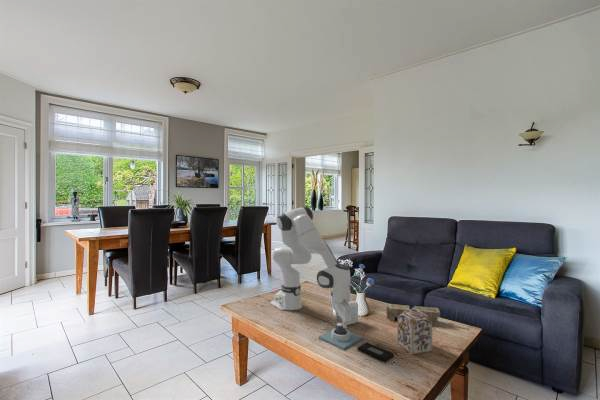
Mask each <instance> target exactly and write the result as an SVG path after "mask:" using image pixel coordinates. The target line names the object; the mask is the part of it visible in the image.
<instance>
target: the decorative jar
mask: <svg viewBox="0 0 600 400" xmlns="http://www.w3.org/2000/svg"><path fill="white" fill-rule="evenodd" d="M396 331H397V337H396V339H397V341H396V342H397V344H398V345H399V346H401V347H402V348H403V349H405V350H406V352H409V354H410V355H419V354H424V353H429V351H430V352H432V351H433V325H432V322H431V320H430V319H429V317H428V316H427V315H426V314H424V313H422V312H420V311H419V310H417V309H412V308H411V309H410V310H409V311H404V312H403V313H401V314H400V315H399V316H398V321H397V330H396Z"/></svg>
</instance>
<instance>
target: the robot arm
mask: <svg viewBox="0 0 600 400" xmlns="http://www.w3.org/2000/svg"><path fill="white" fill-rule="evenodd" d="M313 213H314V212H313V211H312V209H311V208H310V207H309V206H301V207H298V208H294V209H291V210H288V211H285V212H282V213H280V214H277V218H276V224H277V226H278V228H279V229H280V231H281V240H282V241H281V242H282V243H283V244H284V245H285V246H281V247H280V246H279V247H276V248H274V250H273V251H272V255H271V256H272V260H273V261H274V263H276V264H277V265H278V267H279V268H280V269H281V272H282V278H283V279H282V281H283V282H282V283H283V284H281V285H280V288H281V289H280V290H279V291H278V292H276V293H275V294H274V299H273V300H271V301H270V304H271V305H272V306H273V307H275V308H277V309H279V310H280V311H297V310H300V309H302V308H303V301H302V293H301V290H302V285H301V274H300V272H299V270H297V269H296V268H294V267H293V266H292V265H306V264H309V263H310V262H311V260H312V252H311V251H314V252H317V254H319V255H320V256H321V257H322V258H321V259H323V262H324V263H325V265H326V268H324V269H321V270H320V271H319V270H318V272H317V274H316V283H317V284H318V286H320V287H321V288H323V289H332V290H331V291H330V296H331V307H332V308H333V309H332V310H334V312H335V319H336V320H337V321H340V320H341V321H342V320H343V324H342V327H343V328H345V329H347V327H348V325H347V323H348V322H351V320H352V314H351V307H350V305H349V304H348V302H350V301H351V289H350V286H351V271H350V268H349V267H348V266H347V265H345V264H343V263H339V262H338V260H337V259H336V257H335V256H334V254H333V251H332V250H331V248H330V247H329V245H328V244H327V242H326V241H325V240H324V239H323V238H322V235H320V233H319V231H318V229H317V227H316V224H315V222H314V221H313V219H314V214H313Z"/></svg>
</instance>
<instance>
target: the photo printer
mask: <svg viewBox="0 0 600 400" xmlns="http://www.w3.org/2000/svg"><path fill="white" fill-rule="evenodd" d="M348 304H349V305H350V307H351V314H352V320H351V322H348V323H347V326H349V325H352V324H357V323H358V322H359V303H358V302H357V301H355V300H350V302H348ZM341 323H343V320H342V319H341Z"/></svg>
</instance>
